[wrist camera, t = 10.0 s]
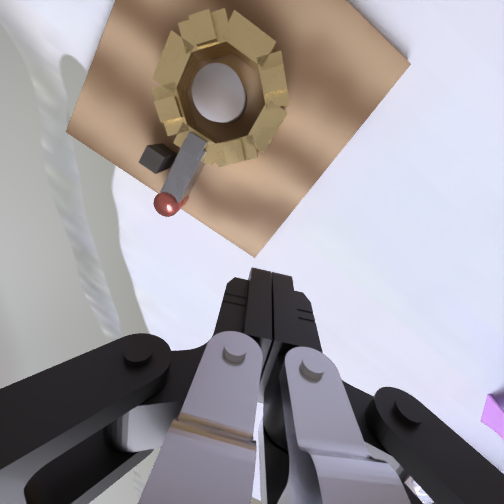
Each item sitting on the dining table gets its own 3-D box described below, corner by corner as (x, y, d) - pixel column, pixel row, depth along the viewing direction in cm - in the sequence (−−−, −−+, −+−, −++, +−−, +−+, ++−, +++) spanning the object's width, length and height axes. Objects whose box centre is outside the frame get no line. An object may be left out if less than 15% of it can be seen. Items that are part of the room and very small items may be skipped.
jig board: (182, -153, 20) (149, -268, 15) (405, 66, 25) (448, 47, 19) (71, 131, 29) (22, 132, 23) (255, 254, 34) (252, 280, 28)
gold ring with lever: (307, 77, 25) (316, 67, 21) (216, 229, 32) (209, 245, 27) (201, -2, 23) (187, -32, 19) (127, 177, 30) (104, 185, 25)
